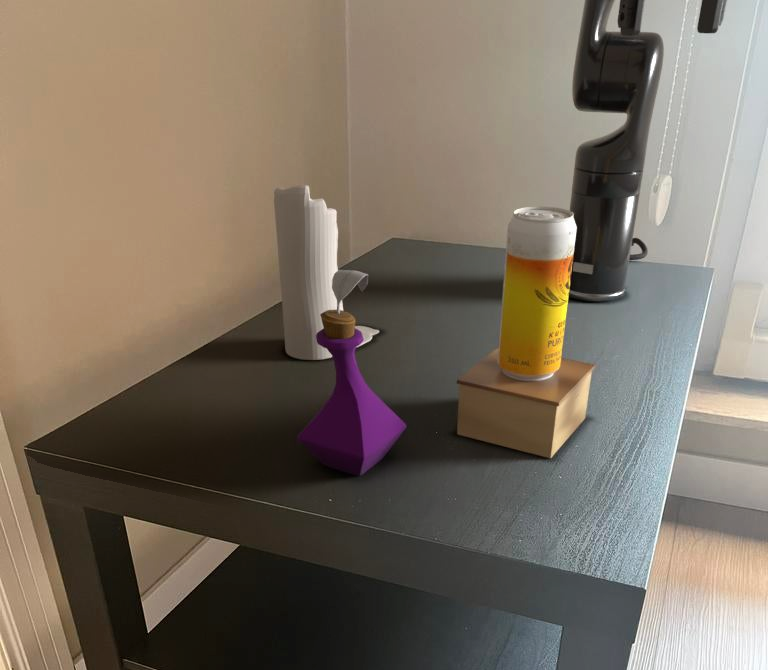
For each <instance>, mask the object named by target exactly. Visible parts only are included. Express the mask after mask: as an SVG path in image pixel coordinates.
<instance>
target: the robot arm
mask: <svg viewBox="0 0 768 670" xmlns="http://www.w3.org/2000/svg"><path fill="white" fill-rule="evenodd" d="M645 1H646V0H619V6H618V14H617V27H618V28H619V29H620V30H619V31H607V26H608V22H609V19H610V15H611V12H612V9H613V6H614V4H615V2H616V0H584V4H583V9H582V14H581V15H582V16H581V20H580V28H579V33H578V41H577V46H576V51H575V60H574V64H573V65H574V66H573V73H572V83H571V85H572V86H571V87H572V88H571V93H572V103H573V106H574V107H575V109H576V110H577V111H579V112H585V113H587V112H588V113H605V114H608V113H609V114H626V120H625V122H624V123H623V124H622V125H620V127H619V128H617V129H616V130H615V129H614V131H611V132H610V133H608V134H606V135H603V136H601V137H596V138H593V139H590V140H587V141H584V142H582V143H581V144H579V145H578V147H577V149H576V151H575V156H574V157H575V159H574V168H573V175H572V176H573V177H572V186H571V195H570V203H569V211H571V212H572V213H573V214H574V216H573V218H574V221H575V224H576V227H577V230H576V238H575V246H574V255H573V263H572V271H571V279H570V288H569V296H568V298H571V299H575V300H579V301H584V302H585V301H586V302H611V301H614V300H615V301H616V300H619V299H621V298H623V297H624V296H625V293H626V280H627V275H628V270H629V264H630V263H629V262H630V261H637V260H642V259H644V258H646V257H647V256H648V253H649V251H648V250H649V249H648V246H647V245H646V244H645V242H644V241H642V239H640V238H638V237H634V231H635V225H636V219H637V213H638V208H639V201H640V193H641V187H642V181H643V174H644V169H645V161H646V155H647V148H648V141H649V135H650V130H651V123H652V119H653V113H654V109H655V103H656V99H657V94H658V91H659V90H658V89H659V85H660V81H661V76H662V71H663V65H664V55H665V48H664V47H665V46H664V40H663V37H662V36H661V34H659V33H657V32H653V31H652V32H651V31H642V24H643V23H642V22H643V16H644V10H645ZM727 2H728V0H701V3H700V8H699V9H700V10H699V16H698V21H697V26H696V27H697V28H696V30H697V33H698V34H716V33H717V32H718V30H719V27H721V26H722V23H723V21H724V19H725V12H726V7H727ZM635 244H636V245H637V246H638V247H639V248H640V249H641V252H640V253H636V254H631V251H632V247H635V246H634V245H635Z"/></svg>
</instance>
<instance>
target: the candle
mask: <svg viewBox="0 0 768 670" xmlns="http://www.w3.org/2000/svg"><path fill="white" fill-rule="evenodd" d="M273 196H274V197H273V206H274V207H273V208H274V219H275V233H276V244H277V255H278V256H277V257H278V271H279V272H278V273H279V281H280V283H279V284H280V293H281V295H280V296H281V305H282V321H283V334H284V335H283V336H284V347H285V348H284V349H285V353H286V354H287V355H288V356H289V357H291V358H294V359H297V360H303V361H318V360H326V359H331V358H333V357H332V355H331V353H330V352H329V351H328V350H327V348H324V347H322V346H320V345H319V344H318V343H317V339H316V335H317V333H318V332H319V331H320V330H322V329H323V328H324V327H323V323H322V320H321V315H320V314H322V313H323V312H325V311H327V310H337V300H336V297H335V295H334V292H333V289H332V279H333V276H334V274H335V273H336V272H337V271H338V270H339V269H338V246H339V245H338V241H339V240H338V239H339V229H338V223H337V222H338V221H337V219H338V217H337V215H338V214H337V210H336V208H332V207H327V204H326V201H325V200H324V198H316V199H312V198H311V194H310V186H309V185H307V184H298V185H294V186H292V187H288V188H283V187H277V188H275V189H274V191H273ZM340 310H342V311H344V303H343V300H341V302H340ZM355 328H356V329H358V330H360V331H361V332H362V335H363V339H364V340H363V342H362V343H361V344H360V345H359V346H357V347H356V348H359V347H362V346H363V345H365V344H367V343H369V342H370V341H371V340H372V339H373V336H376V335H377V334H379V333H380V330H379V329H374V328H371V327H368V326H363V325H355Z"/></svg>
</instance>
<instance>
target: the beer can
mask: <svg viewBox="0 0 768 670" xmlns="http://www.w3.org/2000/svg"><path fill="white" fill-rule="evenodd" d="M573 216H574V214H573V213H572V212H571V211H570V209H569V210H568V209H565V208H561V207H555V206H526V207H521V208H516V209H515V210H514V211H513V212H512V216H511V218H510V220H509V221H508V224H507V230H506V231H507V232H506V243H505V257H504V258H505V259H504V270H503V283H502V284H503V285H502V298H501V312H500V326H499V337H498V338H499V339H498V347H499V350H498V365H499V366H500V367H501V368H502V371H503V373H504V374H505V375H507V376H508V377H510V378H513V379H517V380H522V381H541V380H545V379H548V378H550V377H551V376H552V375H553V374H554V372H555V371H557V370H558V369H559V367H560V362H561V358H562V353H563V345H564V338H565V337H564V336H565V328H566V319H567V311H568V305H569V304H568V303H569V297H568V296H569V288H570V279H571V271H572V263H573V255H574V246H575V238H576V230H577V227H576V224H575V221H574V218H573Z"/></svg>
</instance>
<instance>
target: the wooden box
mask: <svg viewBox="0 0 768 670" xmlns="http://www.w3.org/2000/svg"><path fill="white" fill-rule="evenodd" d="M498 350H499V346H498V347H497V348H495V349H494V350H493V351H492V352H490V353H489V354H488V355H486V356H485V357H484V358H483V359H482V360H480V361H479V362H478V363H476V364H475V365H473V367H471V368H470V369H468V371H466V372H465V373H464V374H462V375H461V376H459V378H457V379H456V384H458V385H459V388H458V405H457V406H458V408H457V426H456V427H457V428H456V429H457V430H456V435H458V436H462V437H466V438H470V439H472V440H473V439H474V440H478V441H482V442H484V443H488V444H493V445H496V446H499V447H504V448H509V449H513V450H517V451H519V452H523V453H528V454H532V455H535V456H540V457H543V458H547V459H552V458H553V457H554V456H555V454H556V453H557V452H558V451H559V449H560V448H561V447H562V446H563V445H564V443H566V442H567V440H568V439H569V438H570V436H571V435H572V434H574V432H575V431H576V430H577V429H578V427H579V426H580V425H581V424H582V423H583V421H584V420H585V419H586V414H587V409H588V408H587V407H588V401H589V394H590V387H591V382H592V381H591V380H592V375H593V374H592V373H593V371H594V370H595V369H596V364H594V363H589V362H584V361H580V360H575V359H569V358H564V357H561V362H560V367H559V369H558V370H557V371H555V372H554V374H553V375H552V376H551V377H550V378H548V379H545V380H541V381H522V380H517V379H513V378H510V377H508V376H507V375H505V374H504V373H503V371H502V368H501V367H500V366H499V365H498Z"/></svg>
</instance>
